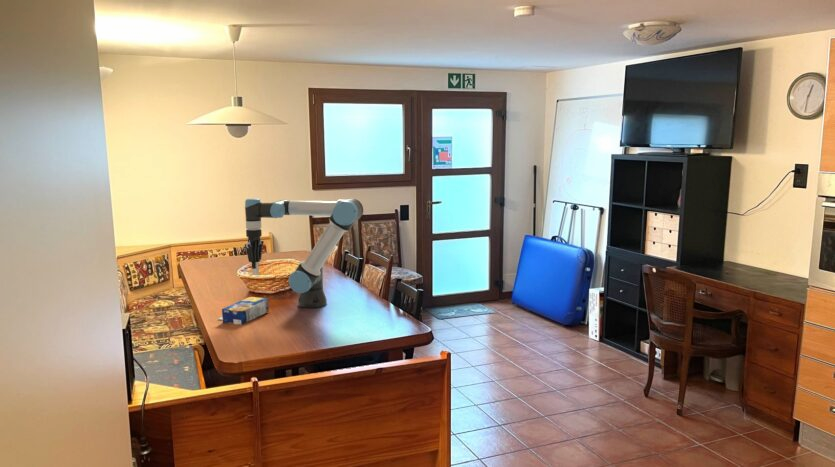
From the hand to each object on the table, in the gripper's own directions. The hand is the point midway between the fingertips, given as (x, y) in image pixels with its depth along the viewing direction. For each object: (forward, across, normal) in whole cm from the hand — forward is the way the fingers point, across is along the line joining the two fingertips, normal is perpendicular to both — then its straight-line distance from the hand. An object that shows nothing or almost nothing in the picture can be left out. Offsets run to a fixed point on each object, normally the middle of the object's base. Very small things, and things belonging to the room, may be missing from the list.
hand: (255, 274), depth 301 cm
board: (+19, +11, 0) cm, 22 cm away
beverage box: (+14, +3, +4) cm, 15 cm away
